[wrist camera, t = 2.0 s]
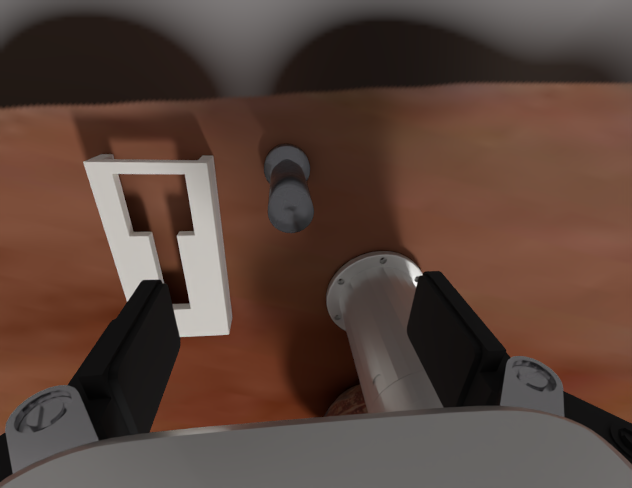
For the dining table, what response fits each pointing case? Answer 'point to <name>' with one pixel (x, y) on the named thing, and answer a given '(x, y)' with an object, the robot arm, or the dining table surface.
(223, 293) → the keyhole plate
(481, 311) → the dining table surface
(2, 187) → the dining table surface
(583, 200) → the dining table surface
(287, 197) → the peg
